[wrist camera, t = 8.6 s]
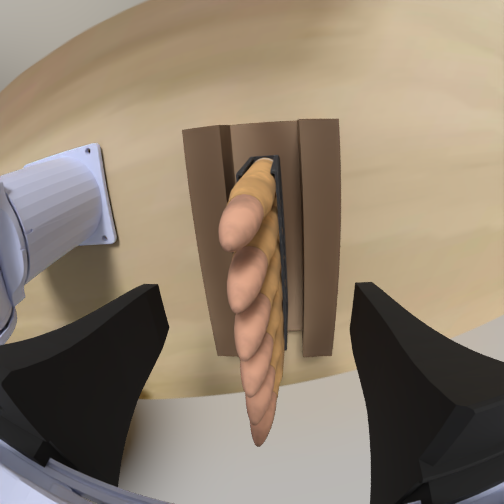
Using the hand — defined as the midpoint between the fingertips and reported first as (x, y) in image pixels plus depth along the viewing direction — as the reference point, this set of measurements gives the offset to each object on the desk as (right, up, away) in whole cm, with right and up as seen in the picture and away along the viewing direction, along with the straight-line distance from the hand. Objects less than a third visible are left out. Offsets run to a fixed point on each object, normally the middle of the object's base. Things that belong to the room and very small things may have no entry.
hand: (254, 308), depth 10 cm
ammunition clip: (+1, +3, +9) cm, 10 cm away
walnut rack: (+1, +3, +10) cm, 10 cm away
